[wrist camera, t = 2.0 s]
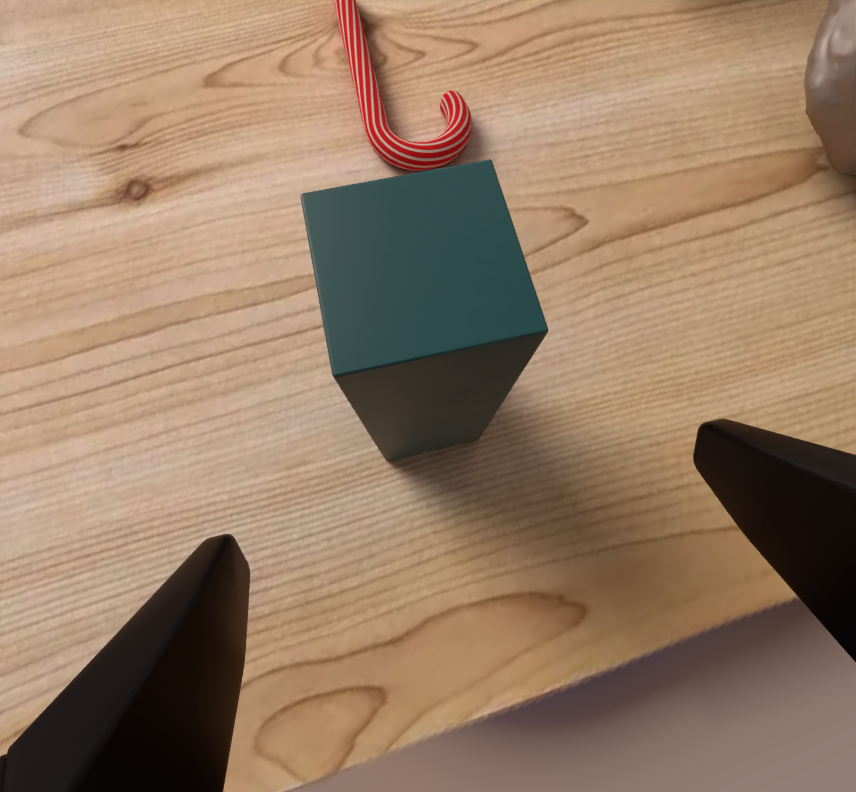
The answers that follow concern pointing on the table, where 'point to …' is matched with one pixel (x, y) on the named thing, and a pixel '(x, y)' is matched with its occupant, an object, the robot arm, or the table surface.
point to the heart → (834, 84)
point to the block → (423, 302)
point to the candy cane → (374, 112)
